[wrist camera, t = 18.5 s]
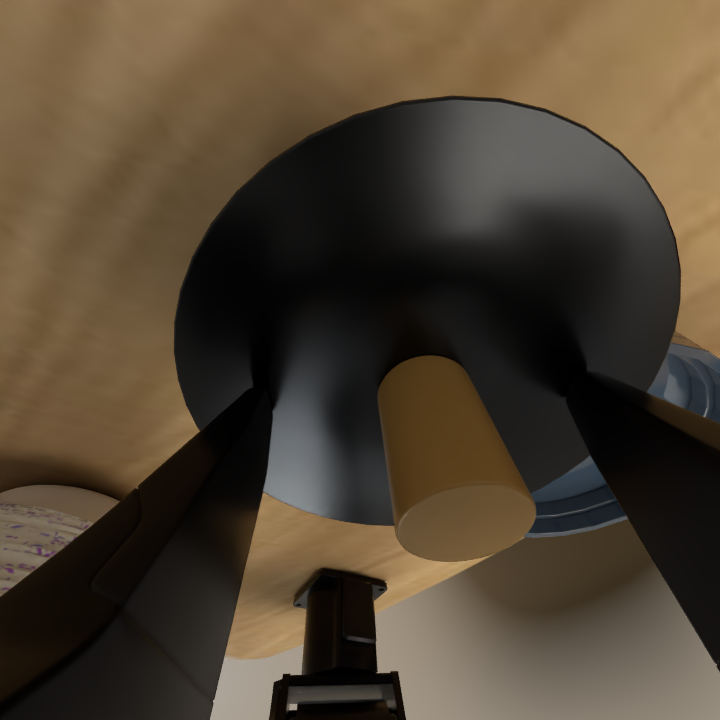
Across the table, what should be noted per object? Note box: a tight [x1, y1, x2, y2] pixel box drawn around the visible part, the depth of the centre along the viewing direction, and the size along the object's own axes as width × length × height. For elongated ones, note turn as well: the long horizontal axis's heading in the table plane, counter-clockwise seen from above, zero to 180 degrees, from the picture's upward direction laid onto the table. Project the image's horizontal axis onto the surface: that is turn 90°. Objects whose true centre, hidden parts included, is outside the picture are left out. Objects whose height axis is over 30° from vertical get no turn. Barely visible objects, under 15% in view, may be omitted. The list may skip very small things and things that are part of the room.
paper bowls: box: [0, 485, 120, 596], centre depth 20 cm, size 15×15×8 cm
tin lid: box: [174, 96, 681, 562], centre depth 8 cm, size 12×12×5 cm
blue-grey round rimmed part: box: [523, 331, 720, 538], centre depth 20 cm, size 15×15×2 cm
